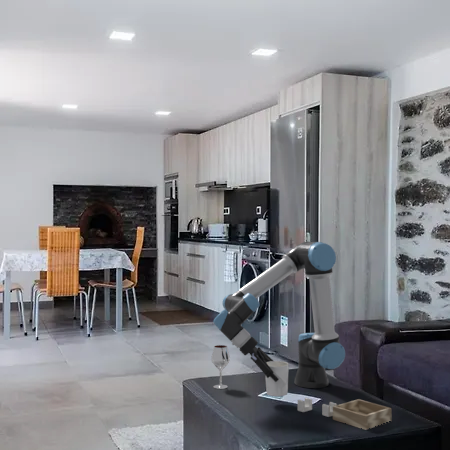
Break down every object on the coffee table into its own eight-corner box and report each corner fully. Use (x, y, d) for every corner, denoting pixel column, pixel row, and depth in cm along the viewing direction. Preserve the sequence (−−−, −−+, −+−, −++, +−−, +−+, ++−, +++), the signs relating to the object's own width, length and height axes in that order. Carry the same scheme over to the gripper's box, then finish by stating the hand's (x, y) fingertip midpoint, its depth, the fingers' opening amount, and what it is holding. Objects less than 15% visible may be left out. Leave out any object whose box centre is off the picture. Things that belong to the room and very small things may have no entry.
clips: (311, 406, 242) (311, 396, 242) (337, 414, 232) (337, 403, 232) (297, 410, 237) (297, 400, 237) (323, 418, 227) (323, 407, 227)
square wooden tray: (358, 411, 235) (358, 399, 235) (391, 421, 224) (391, 408, 224) (332, 419, 226) (332, 406, 226) (365, 429, 214) (365, 416, 214)
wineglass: (218, 383, 277) (218, 344, 277) (233, 386, 272) (233, 346, 272) (207, 387, 270) (207, 346, 270) (222, 390, 265) (222, 349, 265)
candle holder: (288, 397, 239) (287, 367, 239) (263, 396, 241) (262, 366, 241) (290, 390, 248) (290, 361, 248) (266, 389, 250) (266, 360, 250)
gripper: (242, 343, 258) (280, 382, 255) (234, 354, 236) (275, 397, 234) (255, 331, 257) (293, 370, 254) (247, 341, 235) (289, 383, 233)
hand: (284, 383), depth 244 cm, fingers closed on candle holder, 9 cm apart
